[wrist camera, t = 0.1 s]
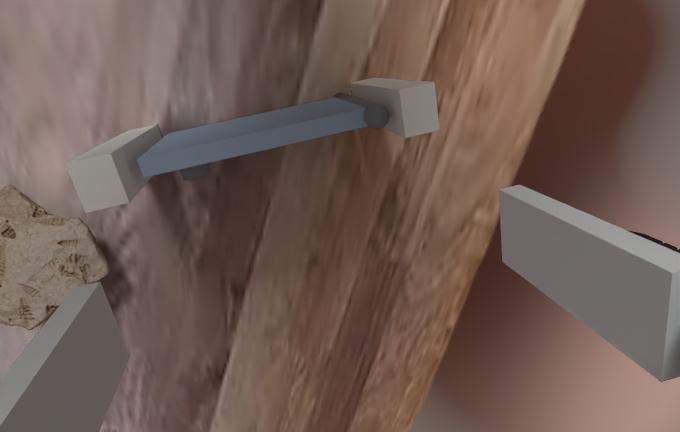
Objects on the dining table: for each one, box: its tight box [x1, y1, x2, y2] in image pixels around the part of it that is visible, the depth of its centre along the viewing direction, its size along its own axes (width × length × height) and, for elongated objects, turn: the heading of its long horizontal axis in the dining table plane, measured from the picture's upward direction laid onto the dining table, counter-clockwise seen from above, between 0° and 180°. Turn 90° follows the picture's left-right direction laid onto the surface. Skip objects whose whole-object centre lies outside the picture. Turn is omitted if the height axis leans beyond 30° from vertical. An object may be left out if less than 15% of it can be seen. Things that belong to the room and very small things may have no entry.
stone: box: [0, 185, 111, 330], centre depth 37 cm, size 9×11×5 cm
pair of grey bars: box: [65, 78, 440, 213], centre depth 33 cm, size 3×22×14 cm, turn 101°
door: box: [137, 93, 390, 180], centre depth 34 cm, size 3×16×13 cm, turn 101°
